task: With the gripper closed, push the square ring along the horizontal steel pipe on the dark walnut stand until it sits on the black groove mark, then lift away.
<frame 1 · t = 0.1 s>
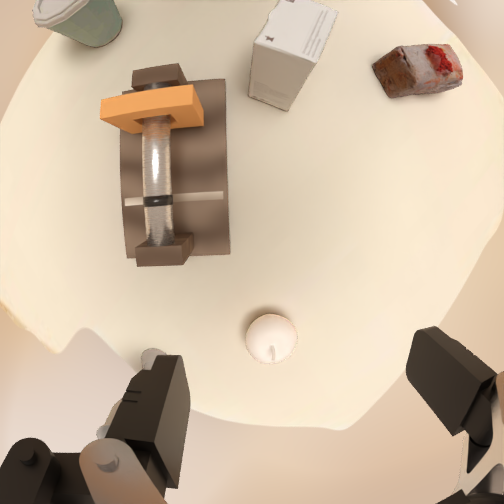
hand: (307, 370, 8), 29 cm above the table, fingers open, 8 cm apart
chalice: (156, 360, 41), on the table
skincare box: (277, 79, 32), on the table
disposable coffee cup: (103, 33, 28), on the table
apple: (268, 326, 40), on the table
food item: (408, 78, 33), on the table
pipe: (156, 162, 26), point 8 cm above the table
square ring: (156, 112, 25), point 8 cm above the table, slide at 0.0 cm
pipe stand: (173, 167, 34), on the table
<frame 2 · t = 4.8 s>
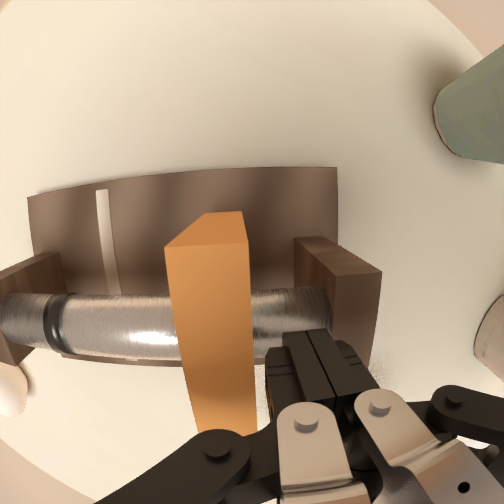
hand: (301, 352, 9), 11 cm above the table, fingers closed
disposable coffee cup: (453, 119, 18), on the table
apple: (16, 372, 21), on the table
pipe: (134, 326, 12), point 8 cm above the table
square ring: (225, 325, 12), point 8 cm above the table, slide at 1.3 cm, touching gripper
pipe stand: (171, 274, 19), on the table
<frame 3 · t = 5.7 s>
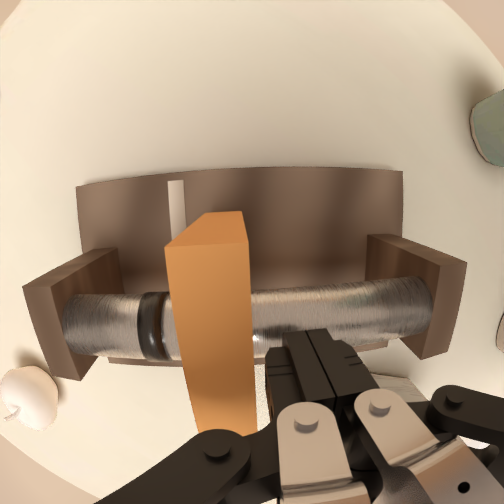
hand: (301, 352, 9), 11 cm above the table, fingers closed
skincare box: (370, 393, 24), on the table
disposable coffee cup: (485, 130, 18), on the table
apple: (44, 379, 22), on the table
pipe: (249, 324, 12), point 8 cm above the table
square ring: (225, 325, 12), point 8 cm above the table, slide at 6.5 cm, touching gripper
pipe stand: (243, 271, 20), on the table
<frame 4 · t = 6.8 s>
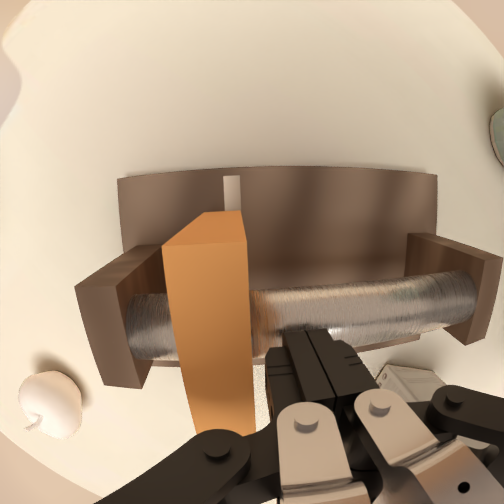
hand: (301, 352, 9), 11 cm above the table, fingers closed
skincare box: (398, 386, 24), on the table
disposable coffee cup: (501, 137, 18), on the table
apple: (65, 384, 22), on the table
pipe: (327, 318, 12), point 8 cm above the table
square ring: (224, 325, 12), point 8 cm above the table, slide at 10.1 cm, touching gripper
pipe stand: (293, 268, 20), on the table
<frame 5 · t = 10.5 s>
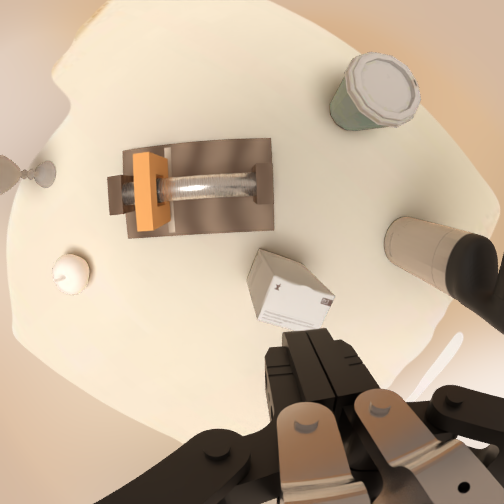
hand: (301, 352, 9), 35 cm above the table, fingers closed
chalice: (46, 174, 39), on the table
skincare box: (276, 271, 46), on the table
disposable coffee cup: (346, 111, 40), on the table
apple: (80, 268, 44), on the table
pipe: (187, 187, 34), point 8 cm above the table
square ring: (153, 191, 34), point 8 cm above the table, slide at 10.1 cm
pipe stand: (196, 187, 42), on the table
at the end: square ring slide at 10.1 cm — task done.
